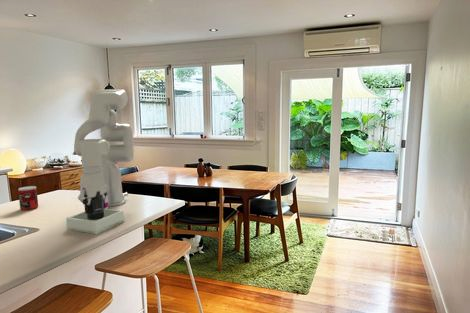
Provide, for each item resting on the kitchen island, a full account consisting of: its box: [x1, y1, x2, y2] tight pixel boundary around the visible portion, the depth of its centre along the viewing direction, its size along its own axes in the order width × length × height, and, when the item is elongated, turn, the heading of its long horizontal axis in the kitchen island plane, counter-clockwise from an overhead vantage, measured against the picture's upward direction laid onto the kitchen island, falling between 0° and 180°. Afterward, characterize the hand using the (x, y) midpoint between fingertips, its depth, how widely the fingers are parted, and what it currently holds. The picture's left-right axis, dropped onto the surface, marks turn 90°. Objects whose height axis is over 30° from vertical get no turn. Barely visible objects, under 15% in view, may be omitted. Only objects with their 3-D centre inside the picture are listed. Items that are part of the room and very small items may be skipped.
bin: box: [65, 208, 125, 235], centre depth 139 cm, size 16×16×5 cm
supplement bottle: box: [87, 191, 104, 220], centre depth 139 cm, size 7×7×12 cm
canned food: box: [17, 185, 39, 212], centre depth 166 cm, size 8×8×11 cm
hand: (95, 210), depth 139 cm, fingers closed on supplement bottle, 6 cm apart
